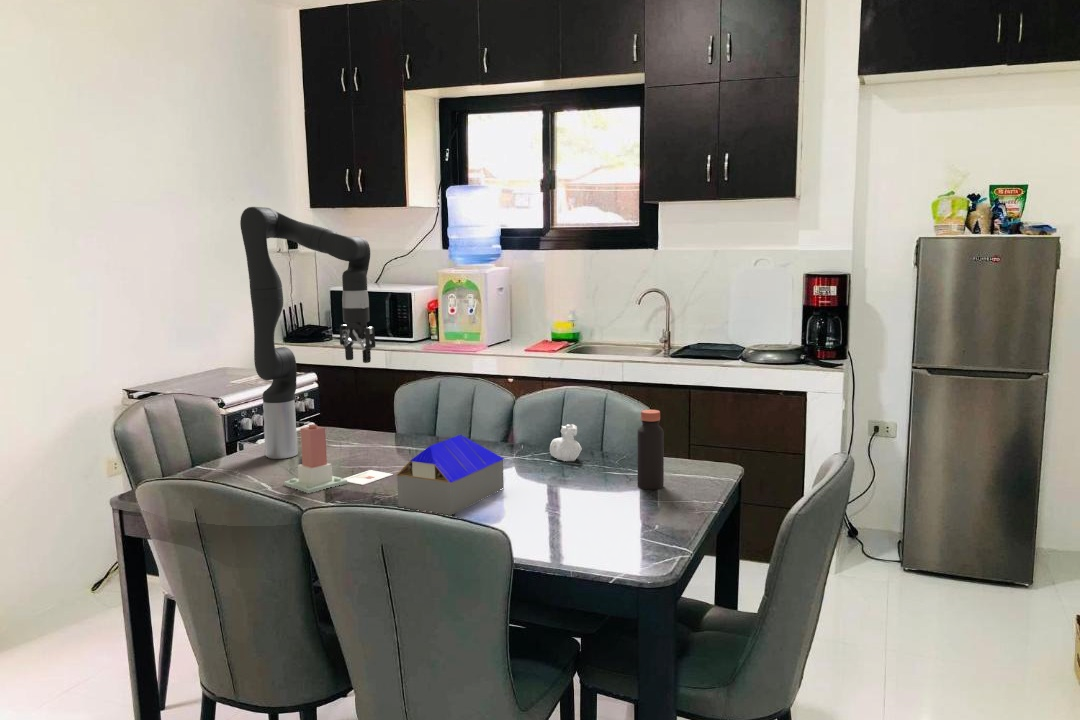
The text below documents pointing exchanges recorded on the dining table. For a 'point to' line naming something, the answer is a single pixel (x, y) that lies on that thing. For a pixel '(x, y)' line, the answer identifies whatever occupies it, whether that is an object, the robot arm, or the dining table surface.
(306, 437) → the tall brick
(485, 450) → the house
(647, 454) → the bottle
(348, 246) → the robot arm
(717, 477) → the dining table surface
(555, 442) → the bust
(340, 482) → the tower base
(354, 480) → the page
